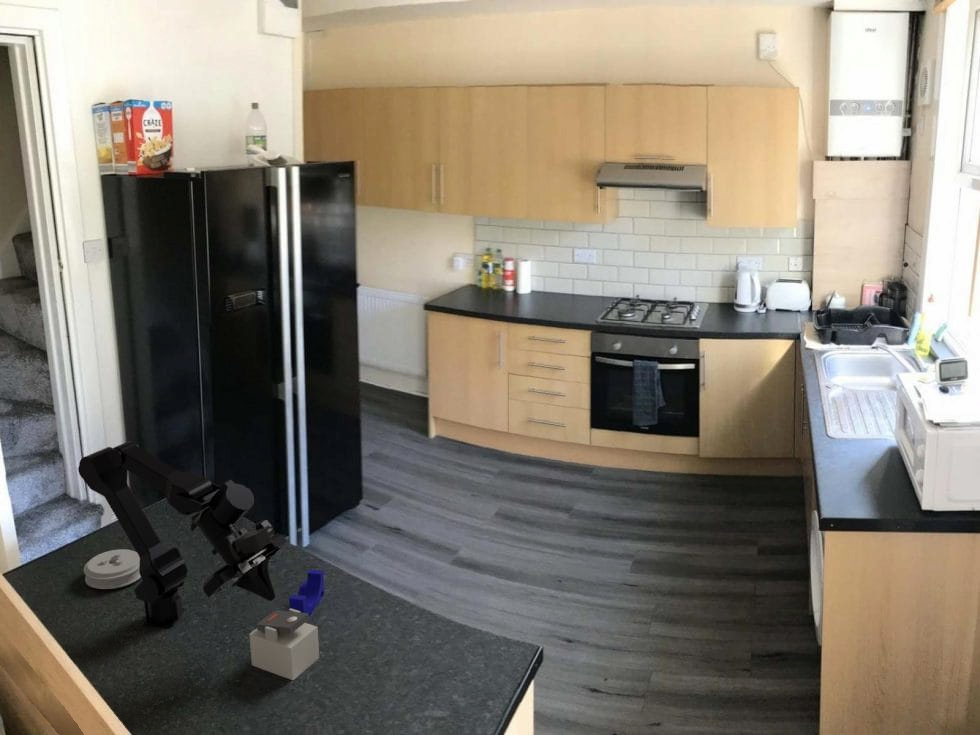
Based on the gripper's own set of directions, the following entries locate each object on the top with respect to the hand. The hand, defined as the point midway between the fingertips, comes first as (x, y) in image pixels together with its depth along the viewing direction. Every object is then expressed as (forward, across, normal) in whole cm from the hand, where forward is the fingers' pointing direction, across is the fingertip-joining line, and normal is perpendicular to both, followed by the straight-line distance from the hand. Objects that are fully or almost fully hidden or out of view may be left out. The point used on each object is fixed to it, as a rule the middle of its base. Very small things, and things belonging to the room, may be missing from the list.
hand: (273, 599), depth 178 cm
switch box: (+11, 0, +8) cm, 13 cm away
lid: (-28, +7, +46) cm, 55 cm away
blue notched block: (+5, +17, +14) cm, 23 cm away
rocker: (+4, 0, +2) cm, 5 cm away
